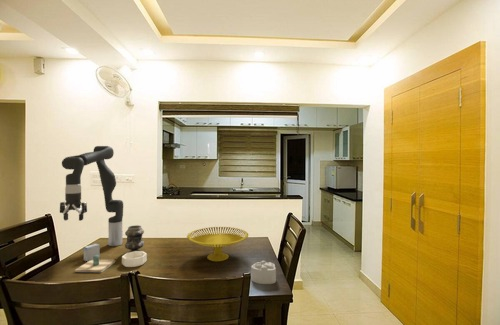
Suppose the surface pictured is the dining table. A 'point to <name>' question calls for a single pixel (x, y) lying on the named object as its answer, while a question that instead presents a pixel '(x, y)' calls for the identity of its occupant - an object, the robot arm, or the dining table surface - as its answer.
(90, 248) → the medicine box
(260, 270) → the lumpy-topped squat cylinder
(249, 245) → the dining table surface
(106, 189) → the robot arm
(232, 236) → the cake stand
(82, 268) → the lid
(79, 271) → the mat
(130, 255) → the bowl
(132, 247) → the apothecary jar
